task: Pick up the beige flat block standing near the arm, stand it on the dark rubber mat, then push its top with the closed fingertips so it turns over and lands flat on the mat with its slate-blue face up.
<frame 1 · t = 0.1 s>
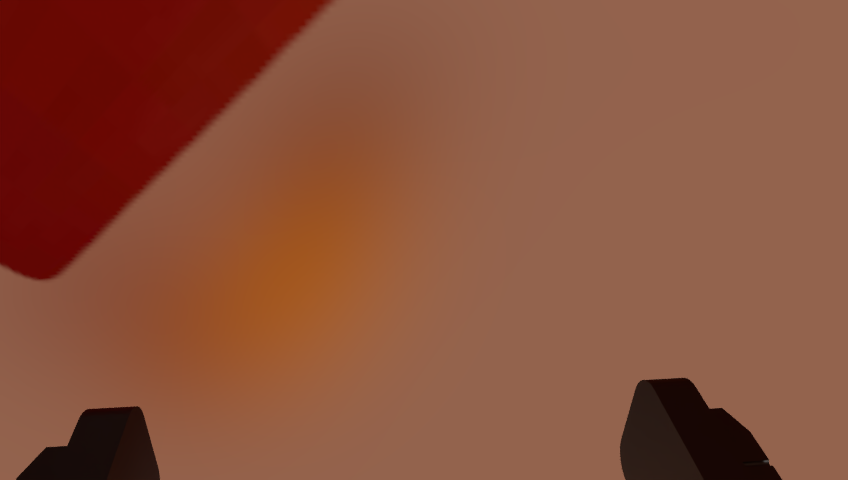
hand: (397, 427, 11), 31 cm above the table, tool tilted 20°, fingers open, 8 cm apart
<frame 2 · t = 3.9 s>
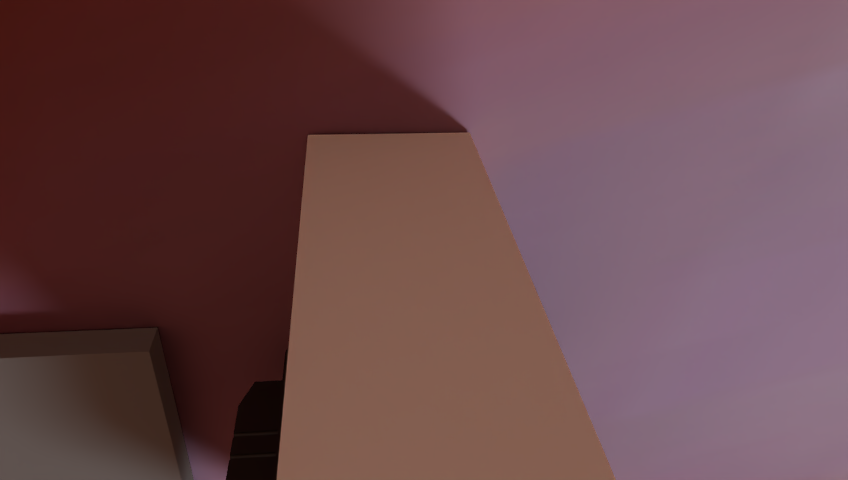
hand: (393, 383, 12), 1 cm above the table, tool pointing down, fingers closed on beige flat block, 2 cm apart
beige flat block: (388, 360, 12), on the table, touching gripper
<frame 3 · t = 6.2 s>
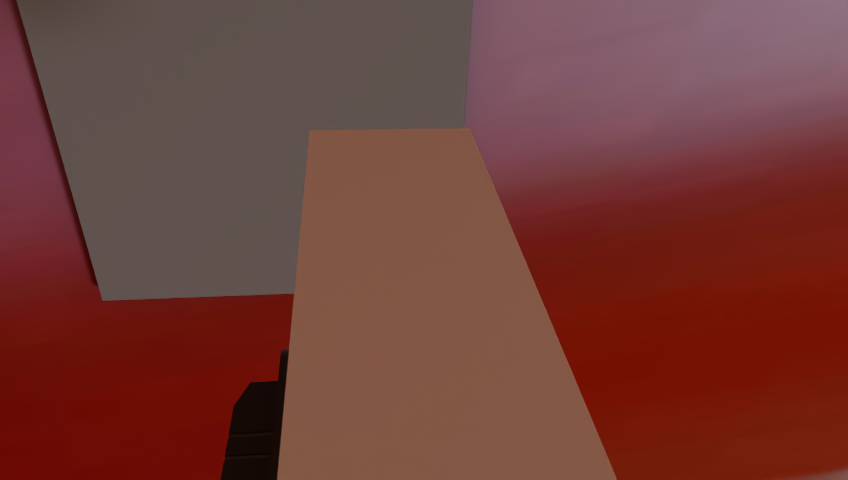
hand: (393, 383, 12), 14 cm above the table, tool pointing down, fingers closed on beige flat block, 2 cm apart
beige flat block: (389, 354, 12), point 13 cm above the table, touching gripper
mat: (265, 100, 23), on the table
when the fingers open (2 cm above the table, at t = 8.5 s): beige flat block stays where it is, resting on mat.
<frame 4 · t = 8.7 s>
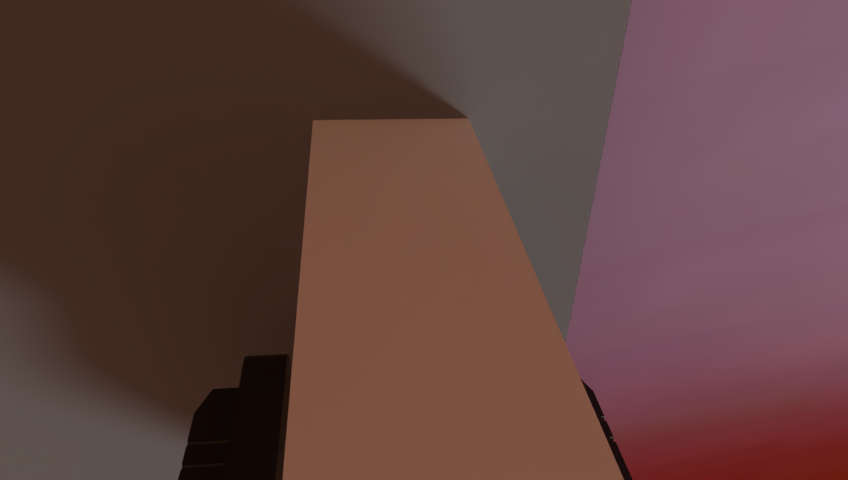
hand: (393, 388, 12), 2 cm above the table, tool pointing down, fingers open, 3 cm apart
beige flat block: (390, 341, 13), point 1 cm above the table, touching mat
mat: (205, 331, 13), on the table
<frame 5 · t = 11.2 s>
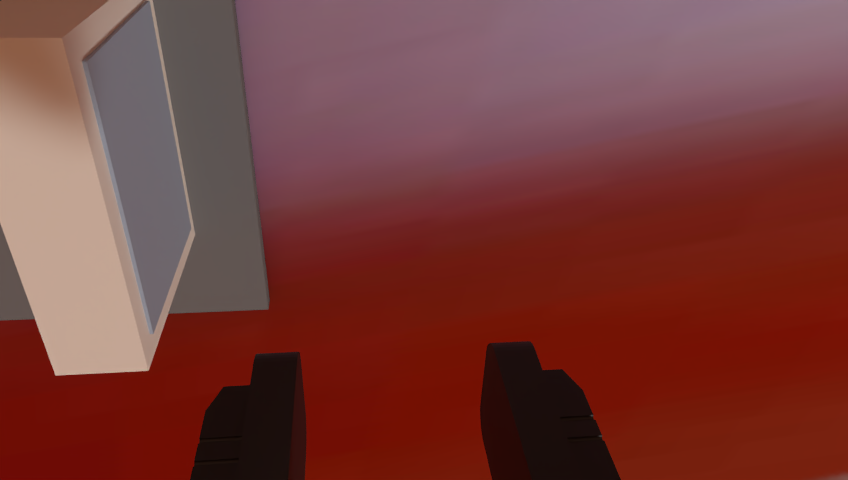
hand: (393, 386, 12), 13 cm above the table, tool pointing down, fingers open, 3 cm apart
beige flat block: (135, 117, 21), point 1 cm above the table, touching mat
mat: (27, 112, 21), on the table
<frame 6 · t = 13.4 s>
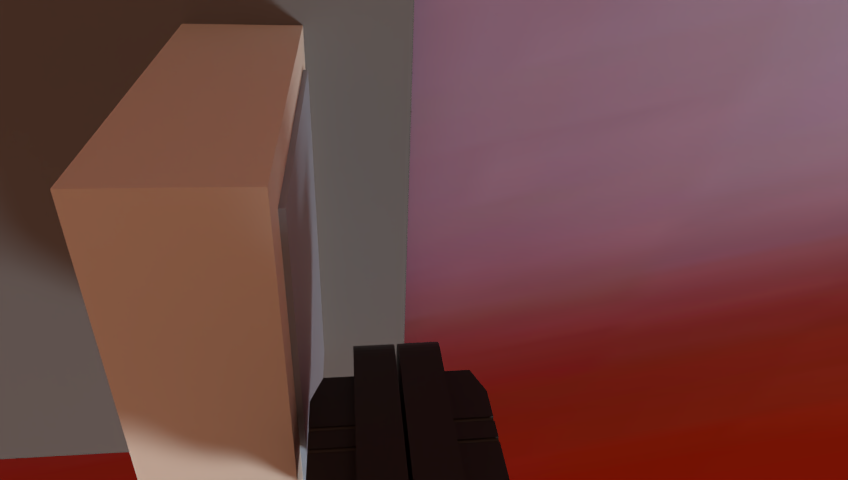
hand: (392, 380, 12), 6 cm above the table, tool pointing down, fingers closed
beige flat block: (263, 215, 16), point 1 cm above the table, touching gripper, mat
mat: (117, 207, 16), on the table
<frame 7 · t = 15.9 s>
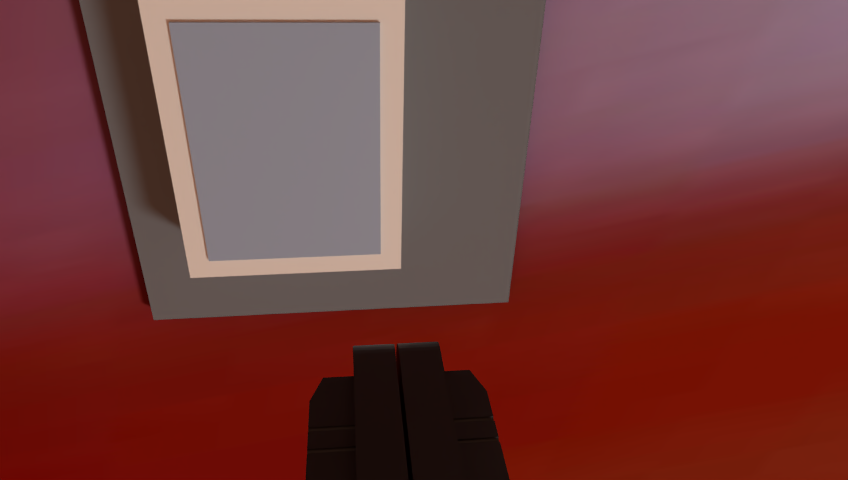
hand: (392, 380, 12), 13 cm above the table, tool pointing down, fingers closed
beige flat block: (399, 132, 21), point 2 cm above the table, tilted 90°, touching mat
mat: (327, 114, 23), on the table
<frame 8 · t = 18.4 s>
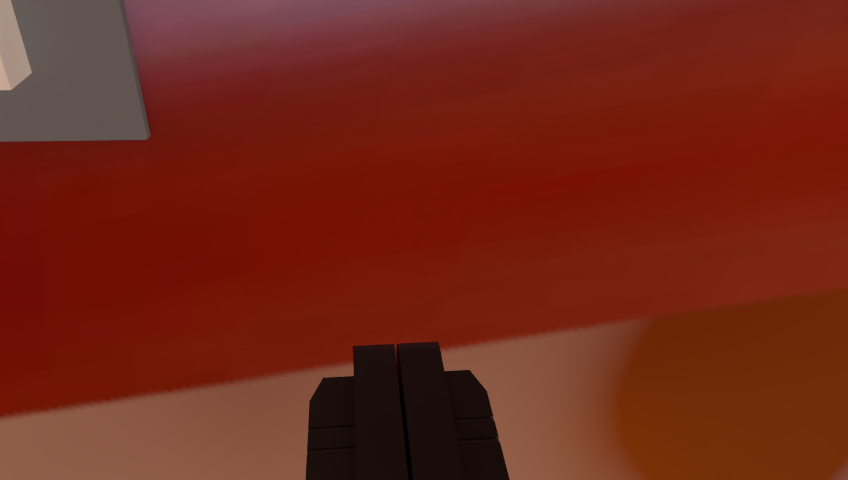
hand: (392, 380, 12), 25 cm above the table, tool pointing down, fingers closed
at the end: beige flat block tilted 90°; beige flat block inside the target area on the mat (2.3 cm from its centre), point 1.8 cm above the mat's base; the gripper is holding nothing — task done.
